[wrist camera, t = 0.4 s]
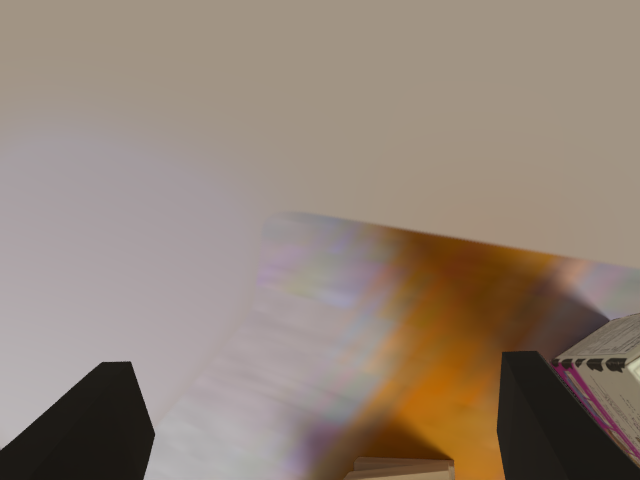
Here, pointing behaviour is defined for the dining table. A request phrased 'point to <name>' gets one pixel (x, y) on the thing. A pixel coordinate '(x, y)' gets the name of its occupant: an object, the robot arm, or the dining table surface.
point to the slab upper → (404, 473)
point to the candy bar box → (609, 379)
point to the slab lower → (395, 463)
